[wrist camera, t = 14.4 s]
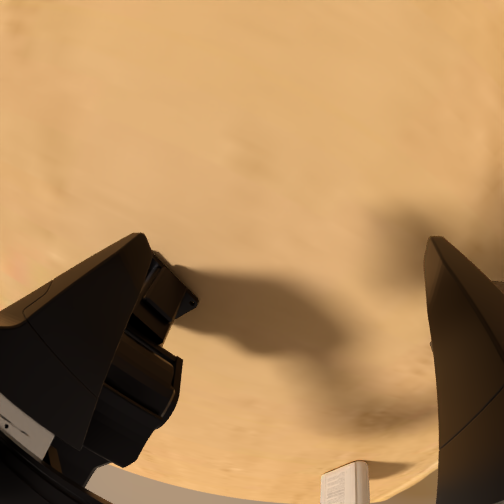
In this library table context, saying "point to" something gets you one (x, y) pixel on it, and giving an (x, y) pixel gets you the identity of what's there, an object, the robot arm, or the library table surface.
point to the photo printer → (346, 485)
